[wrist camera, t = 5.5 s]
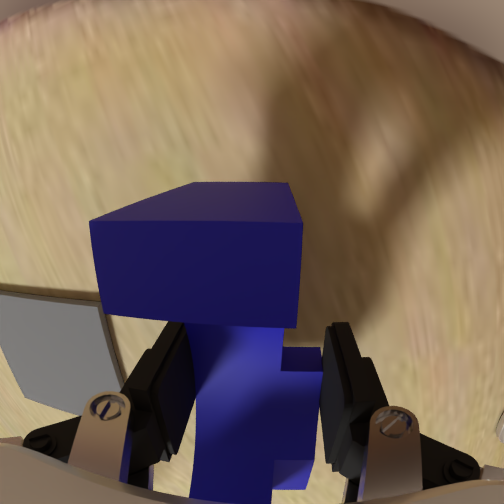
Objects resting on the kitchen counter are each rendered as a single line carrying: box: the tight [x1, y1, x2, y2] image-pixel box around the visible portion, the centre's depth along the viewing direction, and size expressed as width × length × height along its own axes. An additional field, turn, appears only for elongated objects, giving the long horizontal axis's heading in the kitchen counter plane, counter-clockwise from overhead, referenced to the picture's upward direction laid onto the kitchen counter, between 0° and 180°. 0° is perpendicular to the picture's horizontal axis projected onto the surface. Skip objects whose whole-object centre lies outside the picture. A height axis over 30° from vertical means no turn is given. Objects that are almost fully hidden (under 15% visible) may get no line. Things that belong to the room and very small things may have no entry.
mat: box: [0, 290, 124, 416], centre depth 17 cm, size 11×10×1 cm
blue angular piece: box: [89, 182, 323, 504], centre depth 9 cm, size 12×4×6 cm, turn 0°
